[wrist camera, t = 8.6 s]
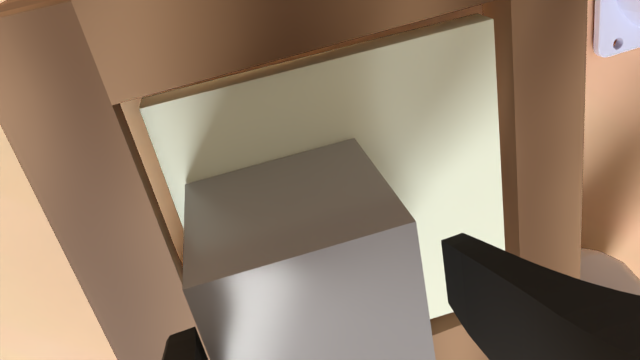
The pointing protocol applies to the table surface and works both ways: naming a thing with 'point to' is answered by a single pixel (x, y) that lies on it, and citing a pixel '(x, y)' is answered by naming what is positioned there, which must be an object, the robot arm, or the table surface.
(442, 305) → the trapdoor
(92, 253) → the trapdoor frame
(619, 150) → the table surface
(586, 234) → the table surface
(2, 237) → the table surface
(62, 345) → the table surface
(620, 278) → the salt shaker
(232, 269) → the pale grey cube
